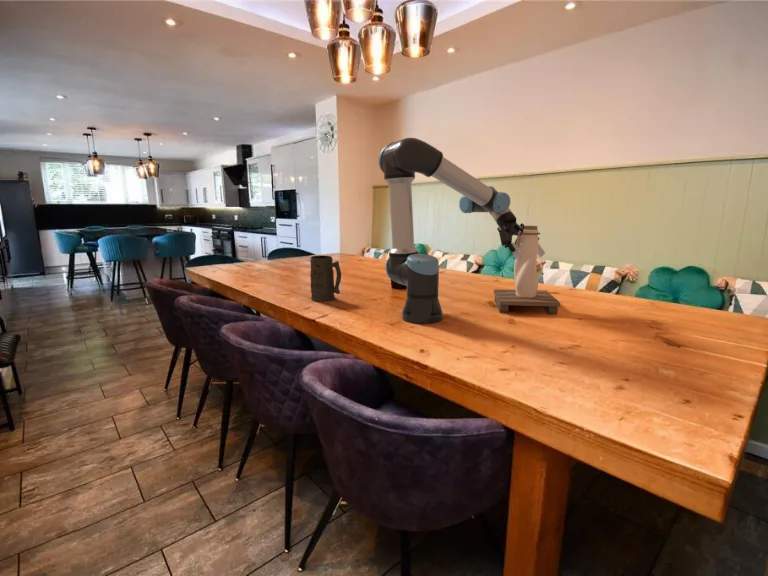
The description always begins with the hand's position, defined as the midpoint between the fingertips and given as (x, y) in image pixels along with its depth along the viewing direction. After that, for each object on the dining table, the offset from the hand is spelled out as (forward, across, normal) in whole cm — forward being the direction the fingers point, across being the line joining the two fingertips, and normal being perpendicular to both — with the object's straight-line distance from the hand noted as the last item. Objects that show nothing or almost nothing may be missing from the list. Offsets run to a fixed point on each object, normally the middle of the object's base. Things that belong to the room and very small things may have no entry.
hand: (531, 256), depth 153 cm
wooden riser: (+13, 0, -17) cm, 21 cm away
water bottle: (+10, 0, -13) cm, 17 cm away
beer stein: (-28, +62, -58) cm, 89 cm away
